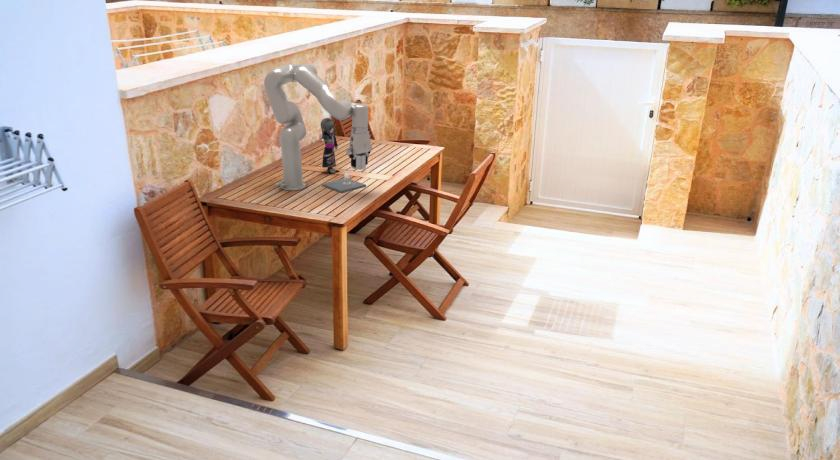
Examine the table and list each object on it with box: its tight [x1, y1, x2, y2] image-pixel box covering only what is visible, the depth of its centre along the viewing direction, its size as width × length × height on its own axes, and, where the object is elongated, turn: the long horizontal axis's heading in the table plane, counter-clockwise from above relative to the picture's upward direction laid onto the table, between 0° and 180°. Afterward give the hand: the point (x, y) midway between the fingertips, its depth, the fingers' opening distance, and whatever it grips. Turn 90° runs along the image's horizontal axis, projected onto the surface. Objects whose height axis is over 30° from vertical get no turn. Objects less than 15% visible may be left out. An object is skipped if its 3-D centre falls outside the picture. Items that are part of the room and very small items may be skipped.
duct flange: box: [321, 173, 367, 194], centre depth 346 cm, size 16×16×6 cm
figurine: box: [320, 117, 339, 175], centre depth 361 cm, size 17×8×30 cm, turn 168°
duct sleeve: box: [351, 153, 367, 171], centre depth 332 cm, size 7×6×7 cm
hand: (359, 165), depth 332 cm, fingers closed on duct sleeve, 6 cm apart
